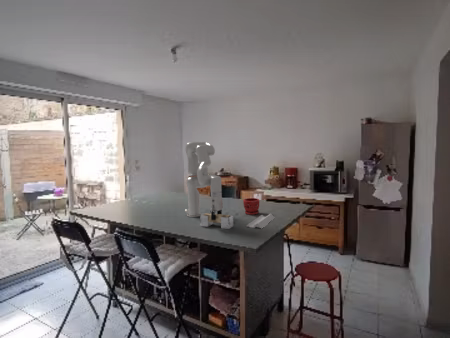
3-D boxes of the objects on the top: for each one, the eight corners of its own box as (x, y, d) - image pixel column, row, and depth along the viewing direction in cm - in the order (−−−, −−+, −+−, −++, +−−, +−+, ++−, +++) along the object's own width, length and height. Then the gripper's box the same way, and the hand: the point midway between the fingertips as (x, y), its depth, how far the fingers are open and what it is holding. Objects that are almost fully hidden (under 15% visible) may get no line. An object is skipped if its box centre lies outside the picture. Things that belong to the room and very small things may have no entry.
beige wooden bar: (203, 221, 197) (203, 214, 196) (206, 220, 200) (206, 213, 200) (227, 223, 189) (227, 216, 189) (229, 222, 193) (229, 215, 193)
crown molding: (260, 217, 220) (260, 212, 219) (275, 218, 214) (275, 214, 214) (245, 227, 192) (245, 222, 191) (262, 229, 186) (262, 224, 186)
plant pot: (247, 211, 240) (247, 197, 239) (262, 212, 233) (261, 198, 232) (240, 214, 228) (240, 199, 228) (255, 216, 222) (255, 201, 221)
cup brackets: (200, 226, 196) (200, 215, 195) (205, 223, 203) (205, 213, 202) (229, 229, 187) (229, 218, 186) (233, 226, 194) (233, 215, 193)
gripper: (215, 196, 184) (216, 221, 185) (226, 192, 200) (226, 215, 201) (205, 195, 187) (206, 220, 188) (216, 191, 203) (217, 215, 204)
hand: (216, 218), depth 195 cm, fingers open, 9 cm apart
